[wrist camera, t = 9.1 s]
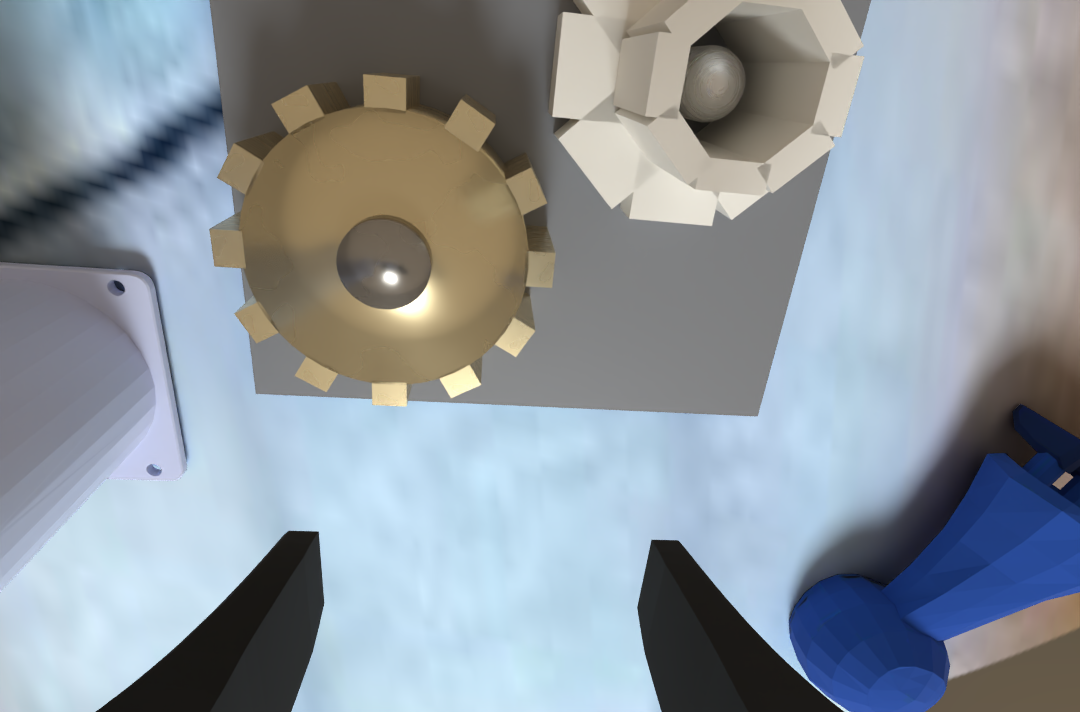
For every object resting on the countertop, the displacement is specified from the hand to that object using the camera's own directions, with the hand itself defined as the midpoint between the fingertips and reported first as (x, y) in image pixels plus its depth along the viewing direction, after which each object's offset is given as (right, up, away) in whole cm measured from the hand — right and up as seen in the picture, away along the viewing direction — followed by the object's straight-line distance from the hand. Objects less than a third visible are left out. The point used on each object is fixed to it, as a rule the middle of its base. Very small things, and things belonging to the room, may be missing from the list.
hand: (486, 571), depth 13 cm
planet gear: (+5, +13, +4) cm, 14 cm away
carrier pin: (+5, +13, +4) cm, 14 cm away
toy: (+18, -4, +15) cm, 23 cm away
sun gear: (-3, +9, +6) cm, 11 cm away
